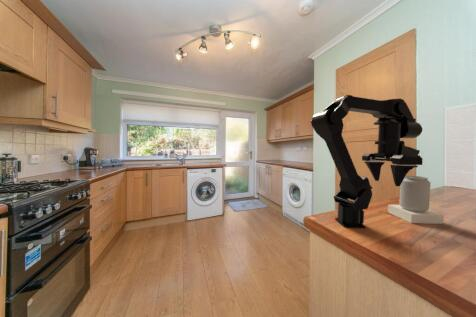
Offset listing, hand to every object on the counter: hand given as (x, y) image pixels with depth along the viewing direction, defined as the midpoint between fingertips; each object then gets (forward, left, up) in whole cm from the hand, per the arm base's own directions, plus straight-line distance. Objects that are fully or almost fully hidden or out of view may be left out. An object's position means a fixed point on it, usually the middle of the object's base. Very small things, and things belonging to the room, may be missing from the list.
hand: (386, 183), depth 60 cm
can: (+12, +3, -10) cm, 16 cm away
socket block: (+12, +3, -13) cm, 18 cm away
